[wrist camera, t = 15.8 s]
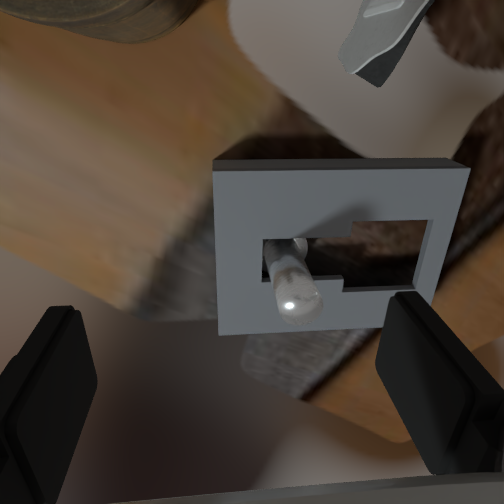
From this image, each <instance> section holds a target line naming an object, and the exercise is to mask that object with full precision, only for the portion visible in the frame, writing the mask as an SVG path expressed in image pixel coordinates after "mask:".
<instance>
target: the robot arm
mask: <svg viewBox="0 0 504 504" xmlns="http://www.w3.org/2000/svg"><path fill="white" fill-rule="evenodd" d="M375 365H376V370H377V373H378V375H379V376H380V378H381V380H382V382H383V384H384V386H385V388H386V390H387V392H388V394H389V396H390V398H391V400H392V401H393V403H394V405H395V407H396V409H397V411H398V413H399V415H400V417H401V419H402V421H403V423H404V424H405V426H406V428H407V430H408V432H409V434H410V436H411V438H412V440H413V442H414V444H415V445H416V447H417V449H418V451H419V453H420V455H421V457H422V459H423V461H424V463H425V465H426V467H427V468H428V470H429V472H430V473H431V474H433V475H431V476H417V477H404V478H392V479H381V480H368V481H356V482H344V483H332V484H320V485H309V486H298V487H286V488H275V489H263V490H253V491H241V492H231V493H220V494H208V495H197V496H187V497H176V498H166V499H156V500H145V501H134V502H124V503H113V504H504V390H503V389H502V388H501V386H500V385H499V384H498V383H497V382H496V381H495V379H494V378H493V377H492V376H491V375H490V374H489V373H488V371H487V370H486V369H485V368H484V367H483V366H482V365H481V363H480V362H479V361H478V360H477V359H476V358H475V357H474V355H473V354H472V353H471V352H470V351H469V350H468V349H467V347H466V346H465V345H464V344H463V343H462V342H461V341H460V339H459V338H458V337H457V336H456V335H455V334H454V333H453V331H452V330H451V329H450V328H449V327H448V326H447V325H446V323H445V322H444V321H443V320H442V319H441V318H440V317H439V315H438V314H437V313H436V312H435V311H434V310H433V309H432V307H431V306H430V305H429V304H428V303H427V302H426V300H425V299H424V298H423V297H422V296H421V295H420V294H419V293H418V292H417V291H398V292H396V293H395V295H394V296H392V297H390V299H389V303H388V307H387V311H386V316H385V320H384V325H383V329H382V333H381V338H380V342H379V347H378V351H377V355H376V360H375ZM96 389H97V374H96V370H95V367H94V363H93V359H92V355H91V351H90V347H89V343H88V339H87V335H86V331H85V328H84V323H83V319H82V315H81V312H80V311H79V310H74V308H73V306H71V305H70V306H51V307H49V308H48V309H47V310H46V312H45V313H44V315H43V317H42V318H41V319H40V321H39V323H38V324H37V325H36V327H35V329H34V330H33V332H32V333H31V335H30V336H29V338H28V339H27V341H26V342H25V344H24V345H23V347H22V348H21V350H20V351H19V353H18V354H17V355H15V356H14V357H13V358H12V359H11V360H10V361H9V363H8V364H7V366H6V367H5V369H4V371H3V372H2V373H1V375H0V504H55V503H56V502H57V499H58V496H59V493H60V491H61V488H62V485H63V482H64V479H65V476H66V474H67V471H68V468H69V465H70V462H71V459H72V457H73V454H74V451H75V448H76V445H77V442H78V440H79V437H80V434H81V431H82V428H83V426H84V423H85V420H86V417H87V414H88V412H89V408H90V406H91V403H92V400H93V397H94V395H95V392H96ZM434 474H436V475H434Z"/></svg>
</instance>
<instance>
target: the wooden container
mask: <svg viewBox="0 0 504 504" xmlns="http://www.w3.org/2000/svg"><path fill="white" fill-rule="evenodd" d="M197 1H198V0H0V11H2V12H4V13H7V14H9V15H12V16H14V17H17V18H20V19H23V20H27V21H30V22H33V23H37V24H42V25H47V26H54V27H58V28H62V29H65V30H68V31H71V32H74V33H77V34H81V35H84V36H88V37H92V38H97V39H102V40H108V41H113V42H118V43H129V44H136V43H144V42H148V41H152V40H156V39H158V38H161V37H163V36H165V35H167V34H168V33H170V32H172V31H173V30H174V29H176V28H177V27H178V26H179V25H180V24H181V23H182V22H183V21H184V20H185V19H186V18H187V17H188V16H189V14H190V13H191V11H192V10H193V8H194V7H195V5H196V3H197Z"/></svg>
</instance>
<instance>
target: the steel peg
mask: <svg viewBox="0 0 504 504" xmlns="http://www.w3.org/2000/svg"><path fill="white" fill-rule="evenodd" d="M307 251H308V244H307V240H306V238H290V239H263V249H262V270H264V271H266V272H268V273H269V276H270V280H271V283H272V287H273V291H274V294H275V298H276V302H277V305H278V309H279V313H280V316H281V317H282V319H283V320H284V321H285V322H287V323H289V324H291V325H305V324H308V323H311V322H313V321H314V320H315V319H317V318H318V317H319V315H320V314H321V312H322V310H323V300H322V297H321V295H320V293H319V291H318V289H317V287H316V285H315V282H314V280H313V278H312V276H311V274H310V272H309V269H308V267H307V265H306V263H305V261H304V259H305V258H306V255H307Z"/></svg>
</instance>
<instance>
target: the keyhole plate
mask: <svg viewBox="0 0 504 504" xmlns="http://www.w3.org/2000/svg"><path fill="white" fill-rule="evenodd" d="M470 170H471V168H469V167H466V166H464V165H462V164H459V163H457V162H455V161H452V160H450V159H448V158H369V159H260V160H213V196H214V223H215V250H216V276H217V303H218V328H219V335H237V334H257V333H277V332H296V331H316V330H336V329H356V328H375V327H383V325H384V320H385V316H386V311H387V307H388V303H389V299H390V297H392V296H394V295H395V293H396V292H398V291H417V292H418V293H419V294H420V295H421V296H422V297H423V298H424V299H425V300H426V302H427V303H428V304H429V305H430V306H431V302H432V299H433V296H434V292H435V289H436V285H437V282H438V279H439V275H440V272H441V268H442V265H443V262H444V258H445V255H446V251H447V248H448V245H449V241H450V238H451V234H452V231H453V228H454V224H455V221H456V217H457V214H458V211H459V207H460V204H461V201H462V197H463V194H464V190H465V187H466V184H467V180H468V177H469V173H470ZM388 220H428V223H427V227H426V231H425V234H424V238H423V242H422V246H421V250H420V254H419V258H418V262H417V266H416V270H415V273H414V277H413V281H412V285H395V286H371V287H346V288H343V282H344V279H343V277H342V275H324V276H312V278H313V280H314V282H315V285H316V287H317V289H318V291H319V293H320V295H321V297H322V300H323V310H322V312H321V314H320V315H319V317H318V318H317V319H315V320H314V321H313V322H311V323H308V324H305V325H291V324H289V323H287V322H285V321H284V320H283V319H282V317H281V316H280V313H279V309H278V305H277V302H276V298H275V294H274V291H273V287H272V283H271V280H270V278H262V249H263V239H290V238H325V237H350V236H351V230H352V223H353V221H388Z"/></svg>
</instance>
